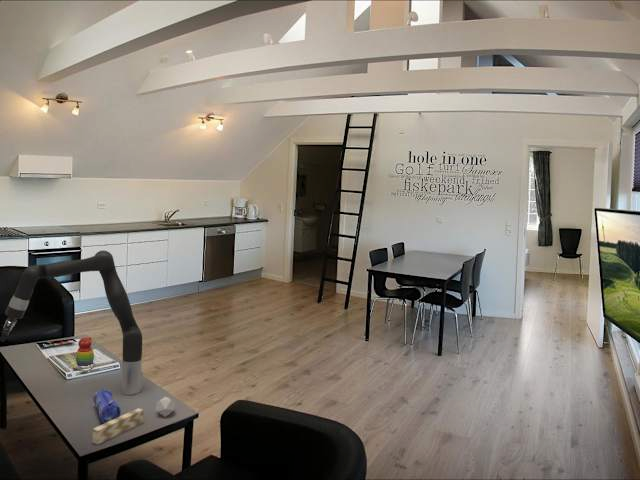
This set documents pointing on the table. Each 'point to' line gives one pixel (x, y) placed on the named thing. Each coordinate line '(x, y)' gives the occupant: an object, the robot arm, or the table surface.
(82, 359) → the stacking bear
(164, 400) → the die
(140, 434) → the table surface
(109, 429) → the birch board
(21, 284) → the robot arm
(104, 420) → the pencil case
